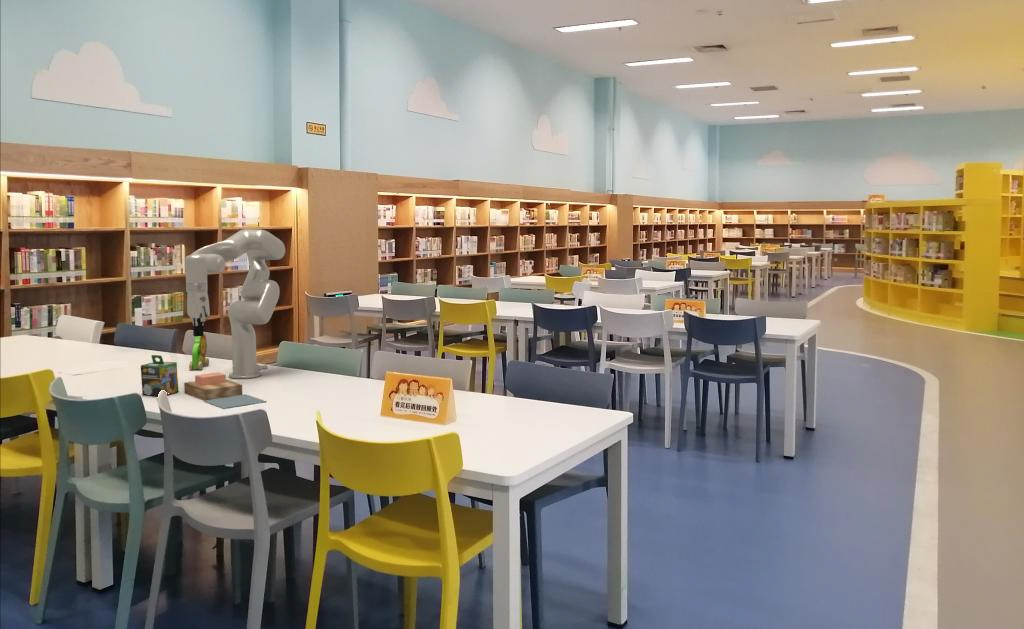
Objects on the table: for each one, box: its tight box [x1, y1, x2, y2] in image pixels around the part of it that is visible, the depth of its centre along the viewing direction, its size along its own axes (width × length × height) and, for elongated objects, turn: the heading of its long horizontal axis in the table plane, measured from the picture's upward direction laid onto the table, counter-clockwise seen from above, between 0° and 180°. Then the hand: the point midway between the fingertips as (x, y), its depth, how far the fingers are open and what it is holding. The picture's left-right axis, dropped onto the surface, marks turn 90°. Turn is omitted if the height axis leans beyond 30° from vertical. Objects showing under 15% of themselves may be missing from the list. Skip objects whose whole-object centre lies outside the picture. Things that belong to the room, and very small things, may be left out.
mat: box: [202, 393, 264, 410], centre depth 284 cm, size 16×16×1 cm
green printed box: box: [140, 354, 179, 397], centre depth 296 cm, size 9×9×15 cm
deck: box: [183, 379, 243, 401], centre depth 296 cm, size 14×18×4 cm
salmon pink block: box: [194, 372, 227, 386], centre depth 297 cm, size 9×6×3 cm, turn 135°
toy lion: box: [188, 332, 210, 371], centre depth 350 cm, size 16×5×15 cm, turn 6°
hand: (198, 335), depth 302 cm, fingers closed
